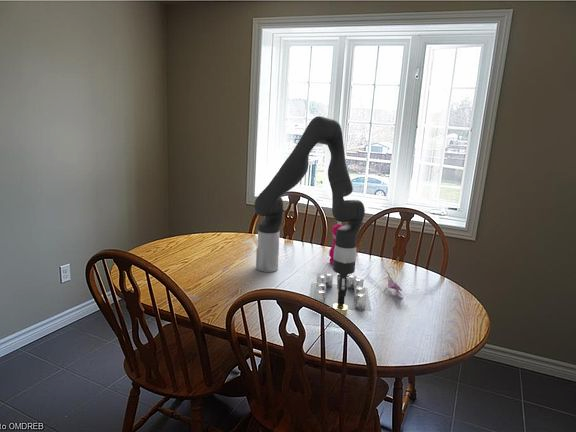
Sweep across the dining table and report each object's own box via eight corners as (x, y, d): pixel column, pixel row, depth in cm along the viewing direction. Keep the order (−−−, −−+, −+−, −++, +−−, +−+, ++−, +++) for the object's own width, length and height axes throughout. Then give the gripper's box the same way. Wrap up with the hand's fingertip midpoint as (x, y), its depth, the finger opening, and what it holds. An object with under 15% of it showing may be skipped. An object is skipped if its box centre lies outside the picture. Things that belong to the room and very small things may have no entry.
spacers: (314, 306, 143) (315, 293, 141) (316, 283, 162) (317, 271, 161) (365, 311, 141) (366, 298, 140) (361, 287, 161) (362, 275, 160)
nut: (332, 316, 137) (333, 309, 136) (333, 308, 142) (333, 302, 141) (346, 317, 136) (347, 310, 136) (346, 310, 141) (346, 303, 141)
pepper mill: (343, 266, 185) (347, 224, 180) (327, 264, 186) (330, 222, 182) (344, 261, 192) (348, 220, 187) (329, 259, 193) (332, 218, 188)
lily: (399, 307, 150) (412, 285, 149) (370, 290, 152) (384, 268, 152) (397, 303, 161) (410, 282, 161) (371, 287, 164) (383, 267, 164)
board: (305, 324, 132) (305, 321, 132) (311, 285, 163) (311, 282, 163) (374, 331, 130) (374, 328, 130) (366, 290, 161) (367, 287, 161)
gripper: (333, 250, 145) (330, 295, 149) (333, 264, 132) (329, 312, 137) (354, 252, 144) (350, 296, 149) (356, 265, 132) (352, 314, 136)
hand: (340, 304), depth 143 cm, fingers closed
